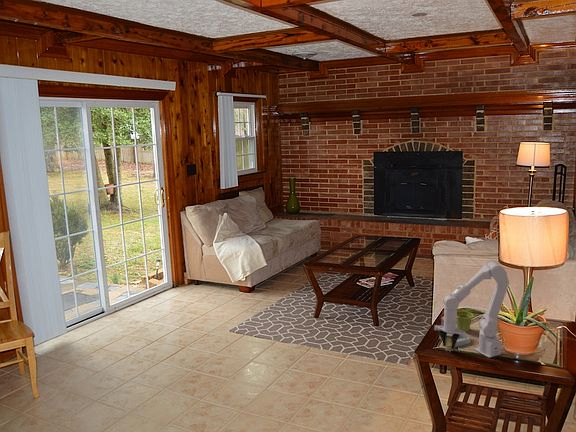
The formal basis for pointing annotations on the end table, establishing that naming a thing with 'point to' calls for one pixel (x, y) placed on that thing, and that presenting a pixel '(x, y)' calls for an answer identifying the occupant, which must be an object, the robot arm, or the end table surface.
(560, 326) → the end table surface
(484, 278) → the robot arm
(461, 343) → the socket board
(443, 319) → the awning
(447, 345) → the peg
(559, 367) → the end table surface
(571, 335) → the end table surface
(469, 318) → the plant pot
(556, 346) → the end table surface
